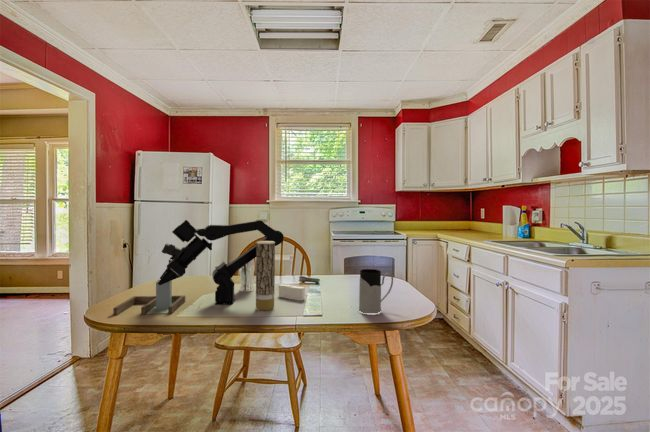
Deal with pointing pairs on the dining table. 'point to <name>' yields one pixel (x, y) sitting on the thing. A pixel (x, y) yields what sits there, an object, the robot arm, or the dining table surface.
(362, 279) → the grey mug
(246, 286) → the white streaked block
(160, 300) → the tall grey square prism
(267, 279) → the bark textured cylinder
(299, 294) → the white rectangular block
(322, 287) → the dining table surface
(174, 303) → the comb rack
